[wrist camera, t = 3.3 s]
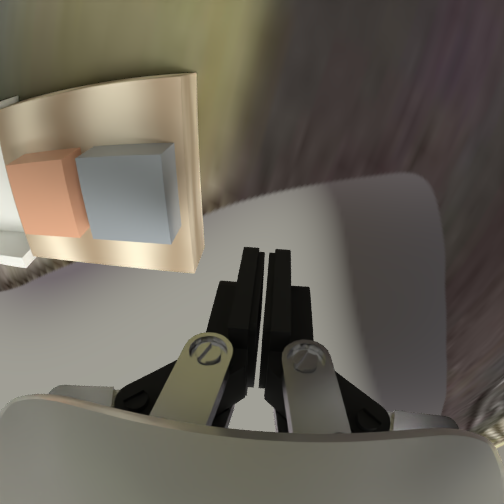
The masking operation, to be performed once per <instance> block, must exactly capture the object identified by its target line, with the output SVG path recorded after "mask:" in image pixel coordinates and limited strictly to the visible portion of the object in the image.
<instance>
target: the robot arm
mask: <svg viewBox="0 0 504 504" xmlns="http://www.w3.org/2000/svg"><path fill="white" fill-rule="evenodd" d="M264 257H265V253H264V252H259V248H252V247H244V250H243V255H242V260H241V264H240V269H239V274H238V280H237V282H231V281H220V282H219V286H218V289H217V293H216V297H215V300H214V304H213V308H212V312H211V316H210V319H209V323H208V327H207V331H206V333H200V334H198V335H195V336H193V337H192V338H191V339H189V340H188V342H187V343H186V345H185V346H184V348H183V350H182V352H181V354H180V356H179V358H178V360H176V361H174V362H172V363H170V364H168V365H166V366H164V367H162V368H160V369H158V370H156V371H154V372H153V373H150V374H148V375H147V376H144V377H142V378H141V379H138V380H137V381H134V382H132V383H130V384H128V385H126V386H125V387H123V388H122V389H121V390H115V389H114V387H100V386H76V385H60V386H57V387H55V388H53V389H52V390H51V391H50V392H49V394H32V395H25V396H21V397H17V398H15V399H13V400H12V401H10V402H9V403H7V404H6V405H5V407H4V408H3V409H2V410H1V412H0V504H504V465H503V462H502V460H501V457H500V455H499V453H498V451H497V449H496V447H495V446H494V445H493V443H492V442H491V441H490V440H488V439H487V438H485V437H483V436H481V435H479V434H476V433H473V432H469V431H465V430H459V427H458V425H457V424H456V422H455V421H454V420H452V419H451V418H449V417H446V416H440V415H430V414H422V413H414V412H406V411H399V410H395V411H394V412H393V413H392V412H387V411H386V410H385V409H384V408H383V407H382V406H381V405H379V404H378V403H377V402H375V401H374V400H372V399H371V398H370V397H369V396H367V395H366V394H365V393H363V392H362V391H361V390H359V389H358V388H357V387H355V386H354V385H353V384H351V383H350V382H349V381H347V380H346V379H345V378H343V377H342V376H341V375H339V374H338V373H337V372H336V371H335V370H334V367H333V363H332V360H331V356H330V354H329V352H328V350H327V349H326V348H325V347H324V346H323V345H321V344H319V343H318V342H315V341H313V327H312V311H311V297H310V288H309V287H302V286H291V251H290V250H282V249H276V250H275V253H270V254H269V265H268V277H267V290H266V301H265V312H264V324H263V336H262V351H261V364H260V378H259V388H265V394H264V397H265V400H266V401H267V402H268V403H269V404H270V405H272V406H273V407H274V411H273V413H274V420H275V429H276V432H262V431H250V430H239V429H229V428H228V426H229V423H230V420H231V417H232V414H233V411H234V407H235V403H237V402H239V401H240V400H241V399H243V398H245V395H247V388H248V387H254V380H255V370H256V361H257V351H258V340H259V330H260V321H261V310H262V293H263V276H264Z"/></svg>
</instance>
